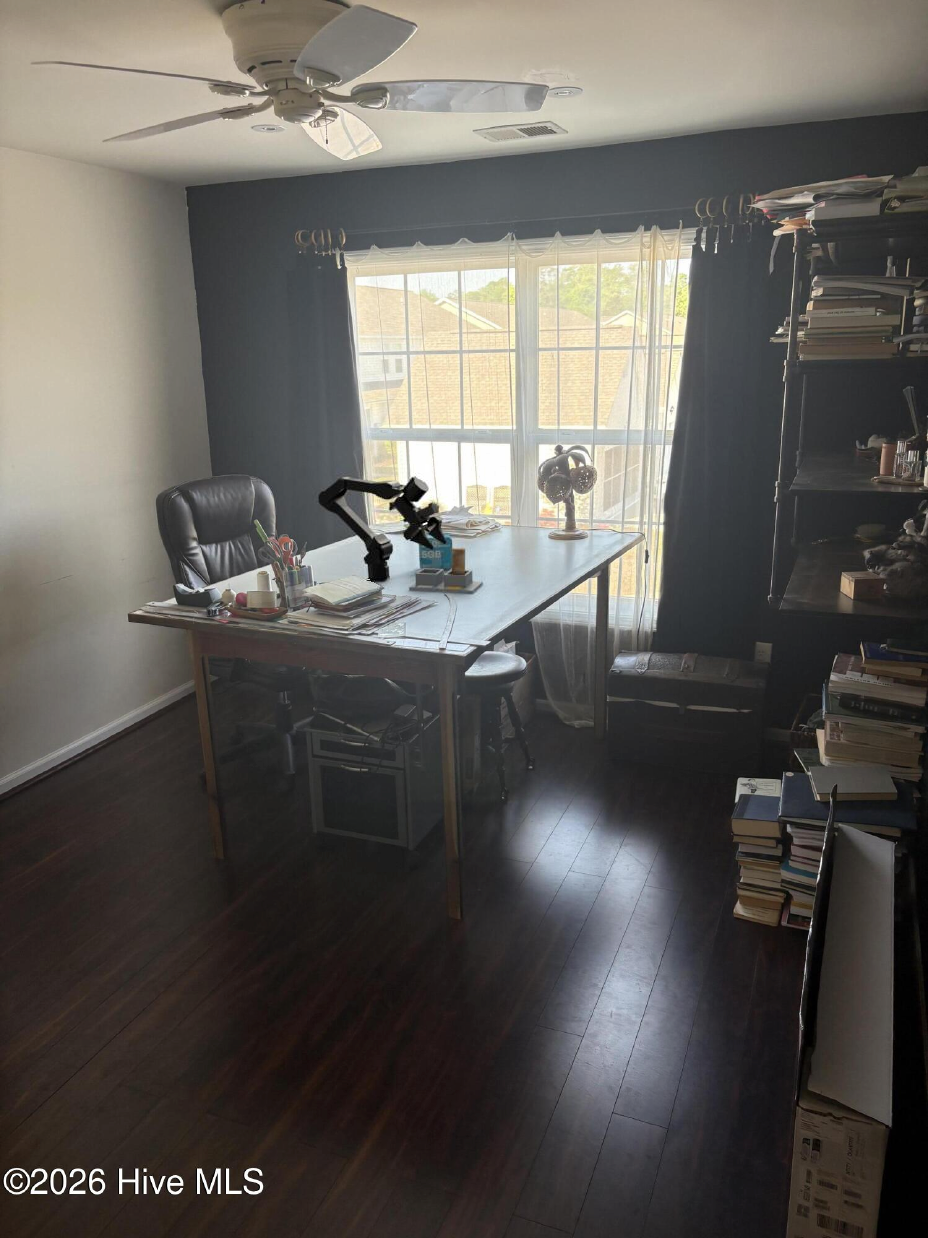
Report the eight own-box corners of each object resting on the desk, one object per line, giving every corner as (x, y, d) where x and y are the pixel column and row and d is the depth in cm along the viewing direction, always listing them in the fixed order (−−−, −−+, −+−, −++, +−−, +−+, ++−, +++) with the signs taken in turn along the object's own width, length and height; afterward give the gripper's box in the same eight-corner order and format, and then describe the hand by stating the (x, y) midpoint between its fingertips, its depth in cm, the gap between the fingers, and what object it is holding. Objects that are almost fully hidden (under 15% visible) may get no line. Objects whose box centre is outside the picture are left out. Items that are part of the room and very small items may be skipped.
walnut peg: (449, 584, 298) (449, 549, 295) (457, 581, 301) (457, 546, 298) (459, 586, 296) (459, 550, 292) (467, 583, 299) (467, 548, 295)
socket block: (409, 590, 297) (408, 575, 295) (421, 581, 308) (420, 567, 306) (472, 593, 290) (472, 578, 289) (482, 584, 301) (482, 570, 300)
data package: (420, 571, 323) (418, 538, 319) (419, 568, 327) (418, 535, 324) (453, 569, 324) (452, 536, 320) (452, 566, 328) (451, 534, 325)
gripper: (410, 499, 287) (441, 535, 286) (436, 491, 303) (466, 525, 302) (389, 522, 293) (420, 557, 291) (417, 512, 309) (446, 546, 307)
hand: (439, 545), depth 298 cm, fingers open, 9 cm apart
